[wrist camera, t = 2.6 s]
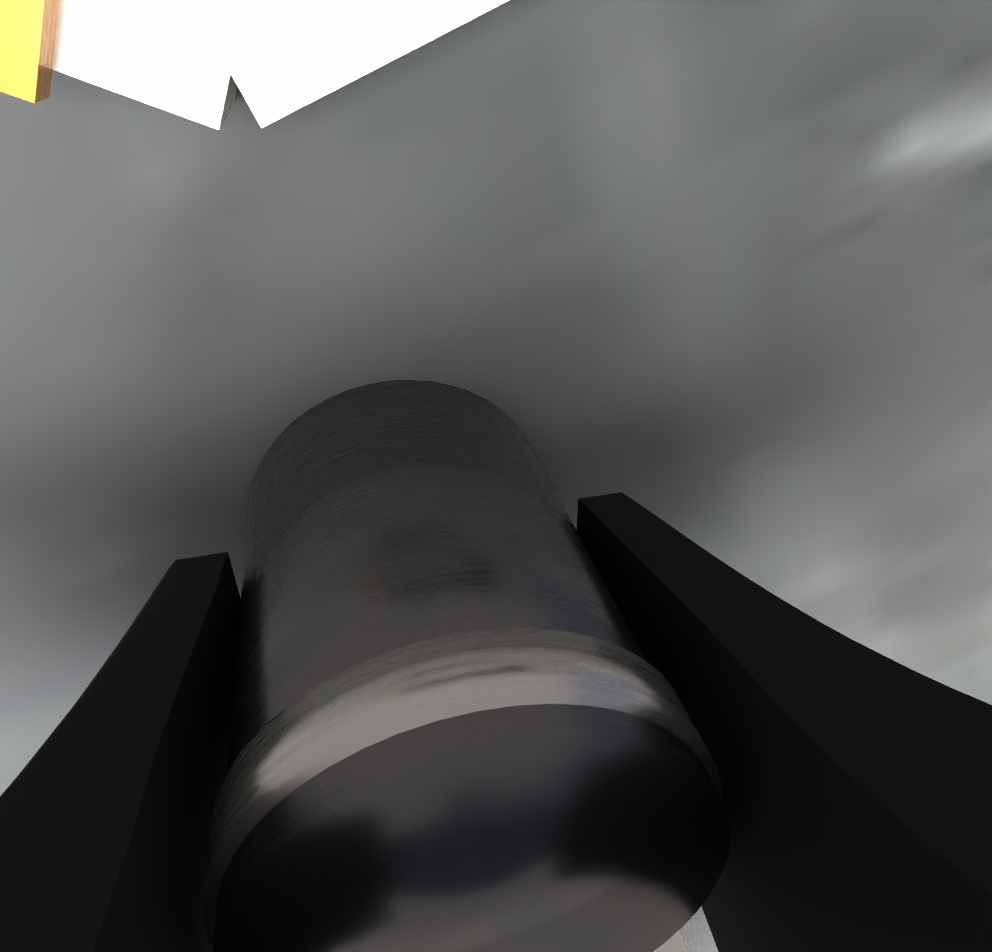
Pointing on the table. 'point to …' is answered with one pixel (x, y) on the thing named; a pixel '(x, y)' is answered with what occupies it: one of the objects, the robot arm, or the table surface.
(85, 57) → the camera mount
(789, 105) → the table surface
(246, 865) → the lens
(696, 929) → the table surface
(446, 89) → the table surface
